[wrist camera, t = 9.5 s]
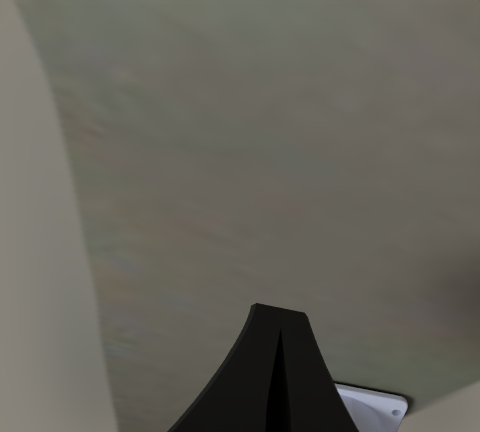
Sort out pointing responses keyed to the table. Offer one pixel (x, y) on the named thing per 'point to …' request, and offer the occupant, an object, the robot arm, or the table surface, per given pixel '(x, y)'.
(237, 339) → the robot arm
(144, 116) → the table surface
